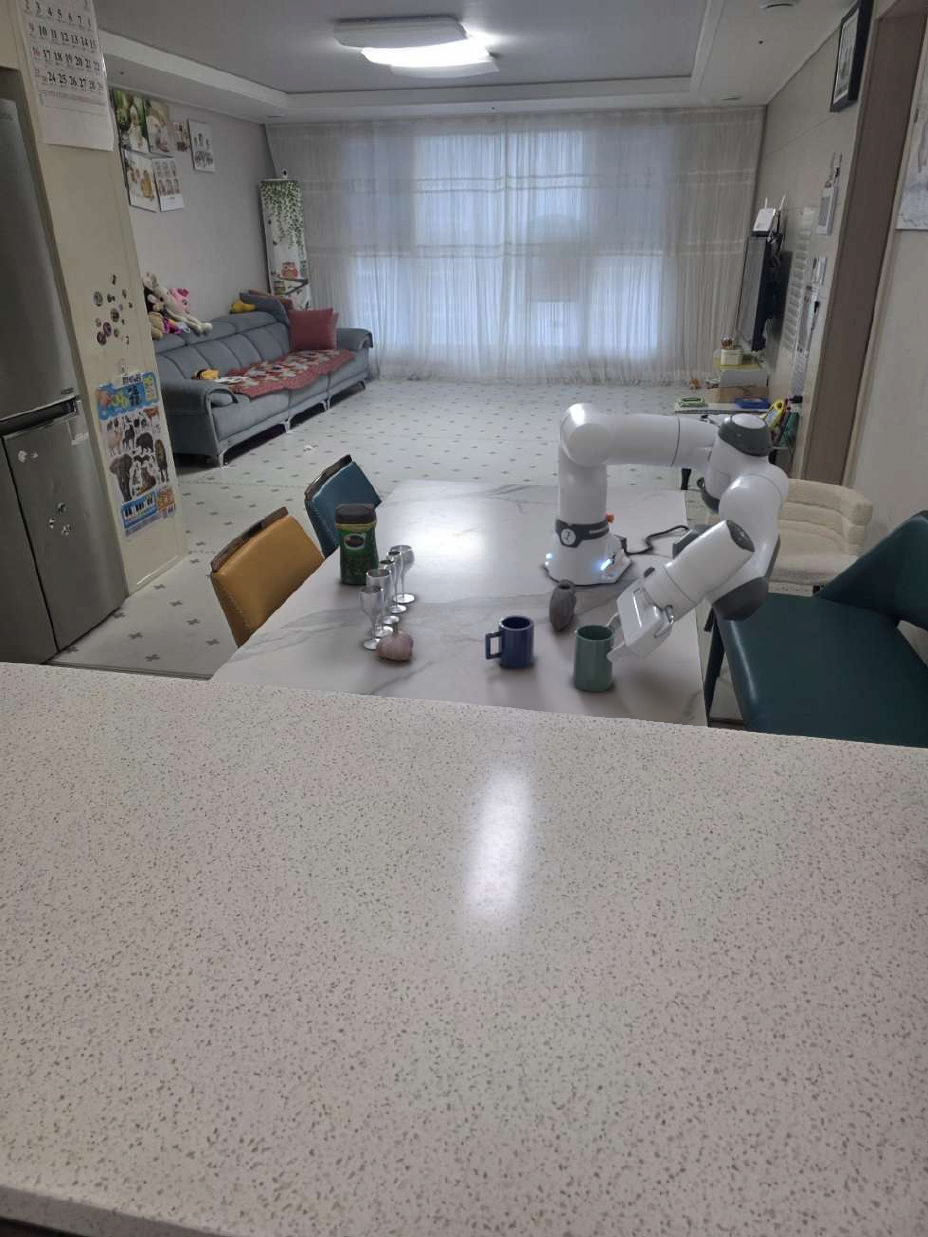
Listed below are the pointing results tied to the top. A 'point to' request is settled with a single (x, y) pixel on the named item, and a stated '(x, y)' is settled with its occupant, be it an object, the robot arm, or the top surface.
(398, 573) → the goblet set
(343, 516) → the coffee jar
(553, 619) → the perforated stone tool
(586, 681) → the green cup
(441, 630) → the top surface
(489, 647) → the mug
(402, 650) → the garlic bulb
